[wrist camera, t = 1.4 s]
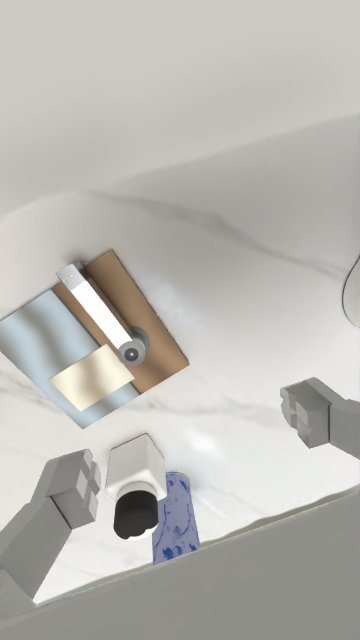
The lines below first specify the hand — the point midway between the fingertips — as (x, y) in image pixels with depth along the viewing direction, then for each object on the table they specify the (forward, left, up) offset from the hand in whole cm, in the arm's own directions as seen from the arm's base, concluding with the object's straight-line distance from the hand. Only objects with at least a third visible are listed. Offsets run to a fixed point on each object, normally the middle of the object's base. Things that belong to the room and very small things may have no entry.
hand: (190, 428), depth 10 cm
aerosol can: (+19, +34, -26) cm, 47 cm away
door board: (+12, +2, -26) cm, 28 cm away
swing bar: (+7, -1, -24) cm, 25 cm away
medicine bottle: (+19, +23, -26) cm, 40 cm away
